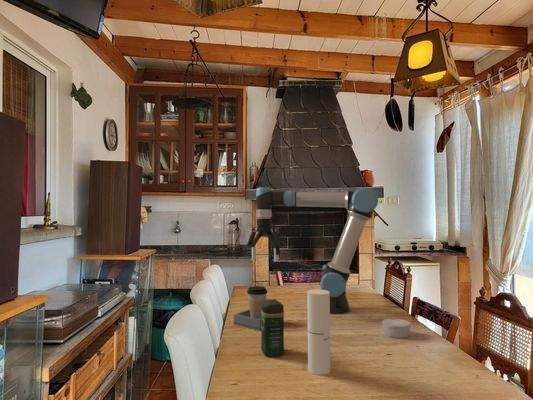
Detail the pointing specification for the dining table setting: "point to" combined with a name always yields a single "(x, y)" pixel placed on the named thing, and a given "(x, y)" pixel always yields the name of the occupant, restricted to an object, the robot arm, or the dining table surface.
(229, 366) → the dining table surface
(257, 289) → the coffee cup
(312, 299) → the cylindrical container
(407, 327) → the ramekin
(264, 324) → the coffee jar
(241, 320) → the tray
